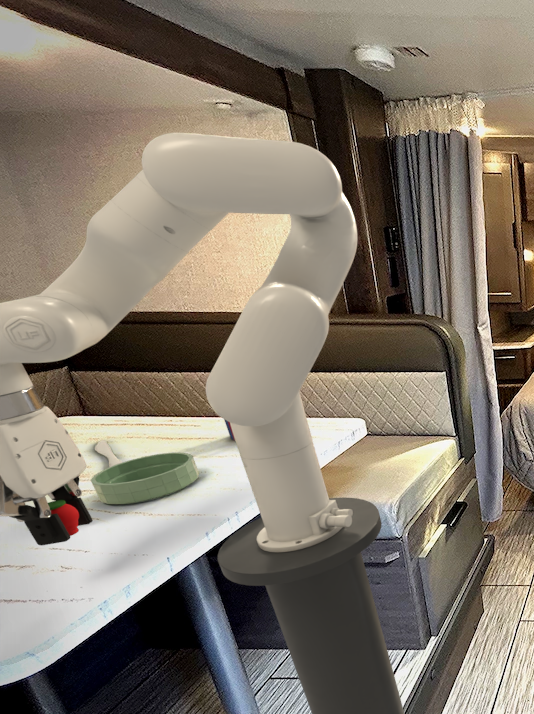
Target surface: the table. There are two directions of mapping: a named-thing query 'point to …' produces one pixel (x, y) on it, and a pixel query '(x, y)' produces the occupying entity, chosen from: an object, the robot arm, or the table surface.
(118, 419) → the table surface
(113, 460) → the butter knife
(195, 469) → the bowl
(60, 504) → the strawberry
